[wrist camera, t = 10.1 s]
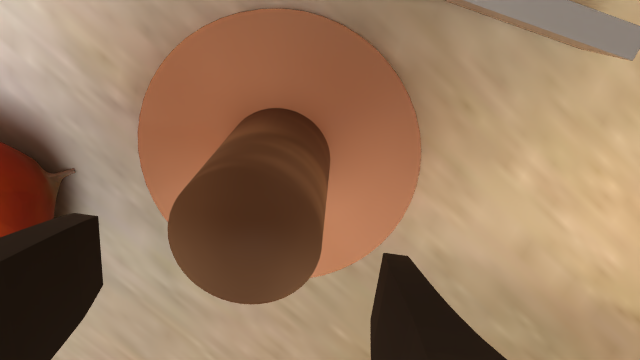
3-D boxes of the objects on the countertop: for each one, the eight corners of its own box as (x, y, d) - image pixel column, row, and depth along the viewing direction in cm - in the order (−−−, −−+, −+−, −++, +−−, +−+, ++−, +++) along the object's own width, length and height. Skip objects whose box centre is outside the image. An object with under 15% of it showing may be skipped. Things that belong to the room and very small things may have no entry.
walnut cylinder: (336, 115, 19) (331, 177, 12) (323, 212, 20) (313, 312, 14) (228, 101, 19) (166, 157, 12) (224, 199, 20) (168, 294, 14)
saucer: (464, 65, 19) (469, 68, 18) (362, 299, 23) (362, 309, 22) (174, -36, 18) (166, -37, 17) (125, 227, 22) (118, 235, 21)
